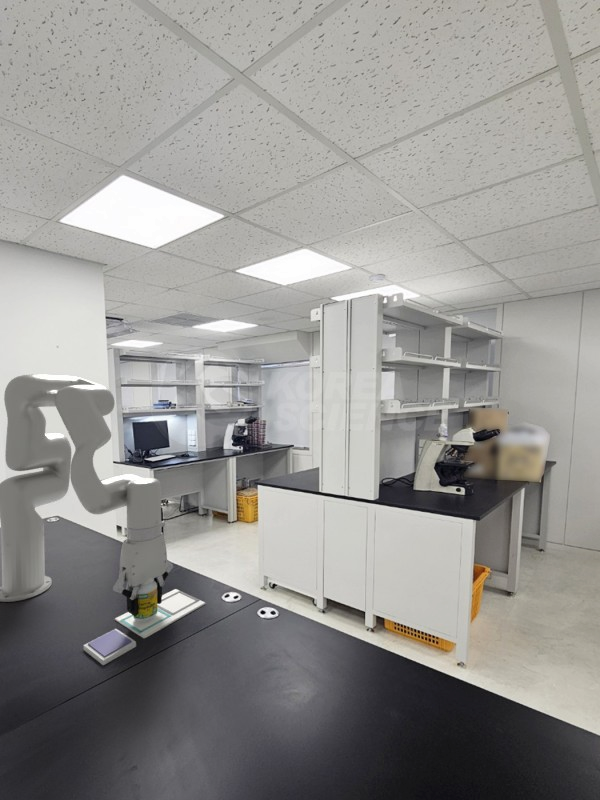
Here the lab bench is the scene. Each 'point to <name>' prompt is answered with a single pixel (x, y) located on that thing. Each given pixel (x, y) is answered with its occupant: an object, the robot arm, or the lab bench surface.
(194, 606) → the print sheet
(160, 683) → the lab bench surface
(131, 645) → the ink pad
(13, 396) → the robot arm
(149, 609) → the supplement bottle
